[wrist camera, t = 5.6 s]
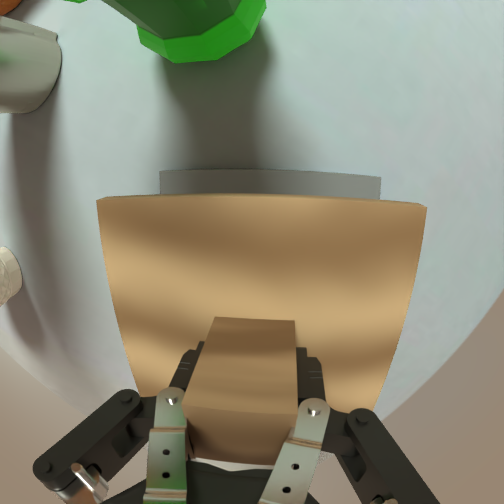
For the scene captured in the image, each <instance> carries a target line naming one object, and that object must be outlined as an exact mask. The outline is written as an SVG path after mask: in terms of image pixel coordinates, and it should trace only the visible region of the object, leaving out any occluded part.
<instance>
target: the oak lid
mask: <svg viewBox="0 0 504 504" xmlns="http://www.w3.org/2000/svg"><path fill="white" fill-rule="evenodd" d="M96 202H97V212H98V220H99V228H100V235H101V242H102V249H103V255H104V261H105V266H106V272H107V277H108V282H109V287H110V292H111V296H112V301H113V305H114V310H115V314H116V318H117V322H118V326H119V330H120V333H121V337H122V341H123V344H124V348H125V351H126V354H127V358H128V361H129V364H130V367H131V371H132V374H133V377H134V380H135V383H136V386H137V389H138V391H139V394H140V397H152V396H157V395H158V393H159V392H160V391H161V390H163V389H165V388H168V387H169V384H170V382H171V380H172V378H173V375H174V373H175V371H176V369H177V367H178V365H179V363H180V360H181V358H182V356H183V354H184V353H186V352H187V351H188V350H189V349H192V350H196V348H197V346H198V343H199V342H200V341H205V343H204V346H203V348H202V351H201V353H200V356H199V358H198V361H197V364H196V366H195V369H194V371H193V374H192V377H191V379H190V382H189V384H188V387H187V390H186V392H185V395H184V398H183V400H182V403H181V406H182V410H183V414H184V417H186V418H187V421H188V432H189V436H190V439H191V443H192V444H194V447H195V454H196V458H202V459H209V460H216V461H223V462H232V463H242V464H254V465H272V466H275V464H276V461H277V459H278V457H279V454H280V452H281V449H282V447H283V444H284V442H285V440H286V438H288V435H289V433H290V430H291V427H296V422H297V417H298V395H297V364H296V347H306V348H307V357H317V359H318V360H319V361H320V363H321V366H322V373H323V381H324V389H325V397H326V402H327V403H328V405H329V406H330V407H331V408H333V409H334V410H336V411H340V412H344V413H350V412H351V411H352V410H354V409H357V408H366V409H369V410H371V411H373V409H374V406H375V404H376V402H377V399H378V397H379V394H380V392H381V389H382V387H383V384H384V382H385V379H386V376H387V373H388V371H389V368H390V365H391V362H392V359H393V356H394V353H395V350H396V347H397V344H398V341H399V338H400V334H401V331H402V328H403V324H404V321H405V317H406V314H407V310H408V306H409V302H410V298H411V294H412V290H413V286H414V281H415V277H416V272H417V267H418V262H419V257H420V251H421V246H422V240H423V233H424V227H425V219H426V212H427V207H425V206H423V205H421V204H419V203H410V202H400V201H389V200H377V199H364V198H350V197H333V196H314V195H289V194H244V193H200V194H156V195H131V196H113V197H105V198H102V199H99V200H96Z"/></svg>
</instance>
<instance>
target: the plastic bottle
mask: <svg viewBox="0 0 504 504" xmlns="http://www.w3.org/2000/svg"><path fill="white" fill-rule="evenodd" d="M65 1H70V2H76V3H82V2H84V1H87V0H65ZM102 1H104V2H105V3H107V4H108V5H110V6H111V7H112V8H114V9H115V10H117V11H118V12H120V13H121V14H123V15H124V16H125V17H127V18H128V19H130V20H131V21H132V22H134V23H135V24H136V25H137V30H138V35H139V39H140V42H141V44H142V45H144V46H145V47H147V48H149V49H150V50H152V51H154V52H156V53H158V54H159V55H161V56H163V57H165V58H166V59H168V60H170V61H171V62H173V63H175V64H176V63H186V62H197V61H212V60H218V59H220V58H221V57H223V56H224V55H226V54H228V53H229V52H231V51H232V50H234V49H236V48H237V47H239V46H241V45H242V44H244V43H246V42H248V41H249V40H250V39H251V38H252V36H253V34H254V32H255V30H256V28H257V26H258V24H259V22H260V19H261V17H262V15H263V13H264V11H265V9H266V1H265V0H102Z"/></svg>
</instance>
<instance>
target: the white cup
mask: <svg viewBox="0 0 504 504" xmlns="http://www.w3.org/2000/svg"><path fill="white" fill-rule="evenodd" d="M21 287H22V275H21V270H20V267H19V264H18V262H17V260H16V258H15V256H14V255H13V254H12V252H11V251H10V250H9V249H7V248H5V247H1V248H0V306H1V305H3V304H4V303H6V302H7V301H8V300H9V298H11V297H12V296H14V295H15V294H16V293H18V292H19V290H20V289H21Z"/></svg>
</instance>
